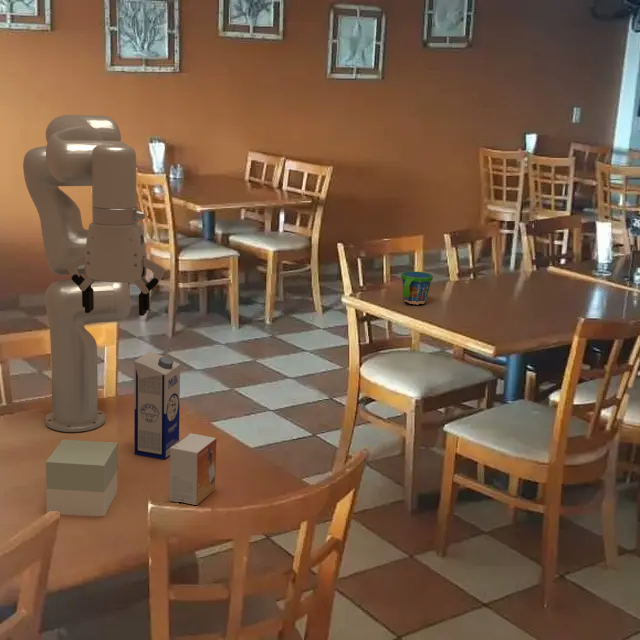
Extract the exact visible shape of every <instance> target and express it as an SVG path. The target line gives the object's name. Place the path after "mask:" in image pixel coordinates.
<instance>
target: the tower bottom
mask: <svg viewBox="0 0 640 640" xmlns="http://www.w3.org/2000/svg"><path fill="white" fill-rule="evenodd" d="M117 493H118V470H117V471H116V473H115V474H114V476H113V478H112V480H111V481H110V483H109V485H108V487H107V488H106V490H105V492H90V491H74V490H58V489H47V488H46V489H45V495H46V513H47V512H49V511H58V512H60V513H61V515H62V516H79V517H80V516H82V517H95V516H96V517H97V516H98V518H99V516H101V517H100V518H103V517H102V516H105V517H106V515H105V514H107V513H106V512H108V511H107V510H109V509H110V507H111V505H112V502H113V501H114V499H115V497H116V495H117ZM109 506H110V507H109Z"/></svg>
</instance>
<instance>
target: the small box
mask: <svg viewBox="0 0 640 640" xmlns="http://www.w3.org/2000/svg"><path fill="white" fill-rule="evenodd" d="M216 463H217V438H216V437H213V436H207V435H202V434H197V433H189V434H188V435H186V436H185V437H183V439H181V440H179V442H178V443H177V444H176V445H174V446H172V447H171V448H170V456H169V501H170V502H175V503H178V502H184V503H190V504H194V505H197V506H198V505H200V503H201V502H203V500H205V499H206V498H207V497H208V496H210V495H211V494H212V493H214V491H215V490H216V474H217V473H216V470H217V469H216V467H217V466H216V465H217V464H216Z"/></svg>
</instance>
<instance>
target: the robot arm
mask: <svg viewBox="0 0 640 640" xmlns="http://www.w3.org/2000/svg"><path fill="white" fill-rule="evenodd" d="M45 130H46V131H45V139H46V142H47V143H46V145H43V146H39V147H38V146H37V147H33V148H31V149H29V150H28V151H27V152H26V153H25V155H24V157H23V162H22V170H23V178H24V181H25V186H26V188H27V191H28V193H29V196H30V198H31V200H32V202H33V205H34V206H35V208H36V211H37V214H38V216H39V221H40V227H41V234H42V236H41V237H42V242H43V247H44V248H43V249H44V254H45V260H46V265H47V266H48V269H49V270H50V272H51V273H52V274H54V275H58V276H70V278H67V279H61V280H57V281H54V282H52V283H51V284H50V285H48V287H47V289H46V290H45V294H44V304H45V309H46V310H45V311H46V315H47V321H48V326H49V327H48V328H49V335H50V336H49V337H50V338H49V339H50V363H51V364H50V366H51V368H50V369H51V370H50V371H51V401H52V403H51V406H52V409H51V410H52V411H50V412H49V413H47V414H46V416H45V417H44V424H45V426H46V427H48V428H49V429H52V430H55V431H57V432H62V433H63V432H65V433H81V432H86V431H87V432H88V431H91V430H95V429H97V428H99V427H101V426H103V424H104V423H105V422H106V415H105V412H103V411H102V410H100V409H99V403H98V402H99V401H98V399H99V398H98V397H99V395H98V394H99V392H98V391H99V389H98V387H99V386H98V384H99V382H98V381H99V380H98V345H97V341H96V339H95V337H94V336H93V335H92V333H91V332H90V331H89V330H88V329H87V328H86V327H85V326H86V325H89V324H97V323H98V324H99V323H111V322H117V321H122V320H125V319H126V318H128V316H129V315H130V313H131V308H132V307H131V306H132V303H131V302H132V301H131V300H132V299H131V292H130V291H131V290H130V286H129V283H130V284H133V283H134V284H135V285H136V287H137V288H138V289H139V290H140V293H139V294H138V315H139V316H140V317H142V316H145V315H146V314H147V312H148V311H150V308H151V307H150V306H151V304H150V301H151V300H150V299H151V298H150V297H151V296H150V294H151V293H150V292H151V290H153V289H154V288H155V286H156V287H157V285H159V283H160V281H161V279H162V277H163V276H164V273H165V272H166V269H165V268H164V267H163V266H161V265H159V264H157V263H156V262H154V261H152V260H151V259H149V258H148V257H147V255H146V254H147V253H146V252H147V251H146V243H145V236H144V230H143V227H142V224H140V223H138V222H139V221H141V220H145V219H146V211H141V210H139V207H138V205H137V203H138V202H137V199H138V198H137V154H136V150H135V149H134V148H133V147H132V146H130V145H128V144H127V143H125V142H123V141H122V135H121V131H120V130H121V129H120V127H119V125H118V123H117V122H116V120H114V119H113V118H112V117H110V116H107V115H98V114H97V115H93V114H92V115H91V114H64V115H59V116H57V117H55V118H54V119H51V121H50V122H49V123H48V125H47V127H46V129H45ZM59 187H91V191H92V192H91V196H92V197H91V199H92V201H91V203H92V207H91V208H92V222H91V223H89V225H88V228H87V229H85V228H84V226H83V221H82V215H81V214H82V213H81V210H80V207H79V206H78V205H77V203H76V202H75V201H74V200H73V199H72V198H71V197H70V196H69V195H68V194H67V193H66V192H64V191H63V190H61V188H59ZM147 269H148V270H150V271H151V272H153V273H154V274H153V277H152V279H151V280H150V281H148V280H147V279H146V278H145V277H146V275H147ZM82 275H85V277H84V276H82Z"/></svg>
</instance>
